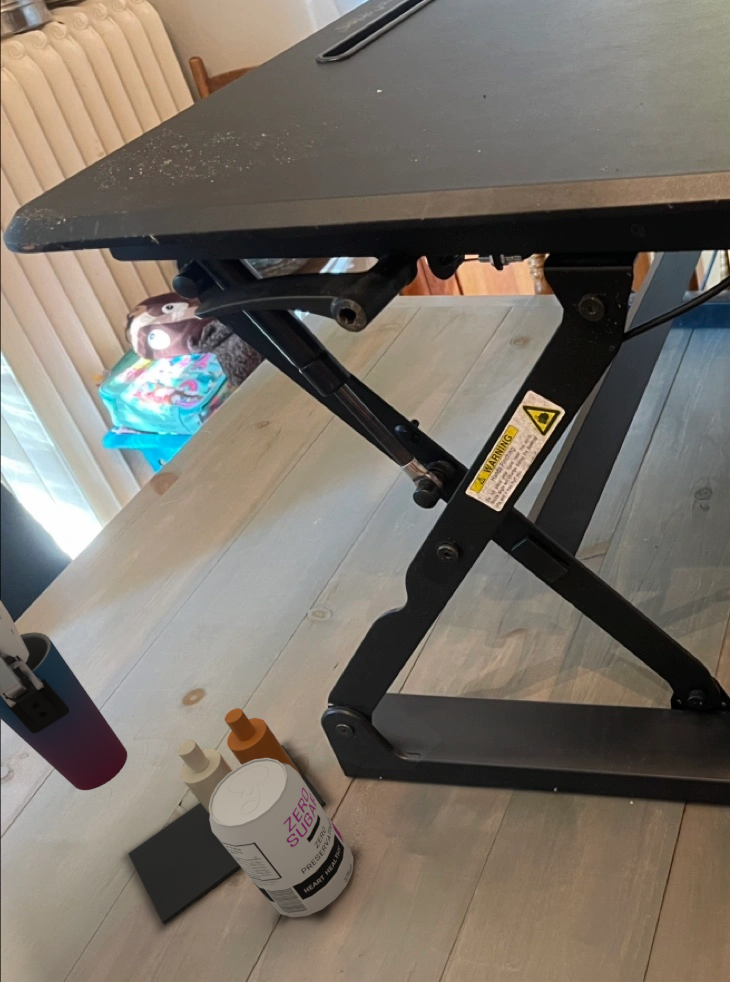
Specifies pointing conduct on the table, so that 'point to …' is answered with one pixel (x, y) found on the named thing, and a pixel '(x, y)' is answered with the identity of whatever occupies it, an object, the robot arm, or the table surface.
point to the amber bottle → (253, 739)
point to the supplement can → (280, 836)
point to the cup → (68, 722)
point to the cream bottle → (202, 770)
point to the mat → (186, 860)
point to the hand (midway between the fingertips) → (40, 700)
